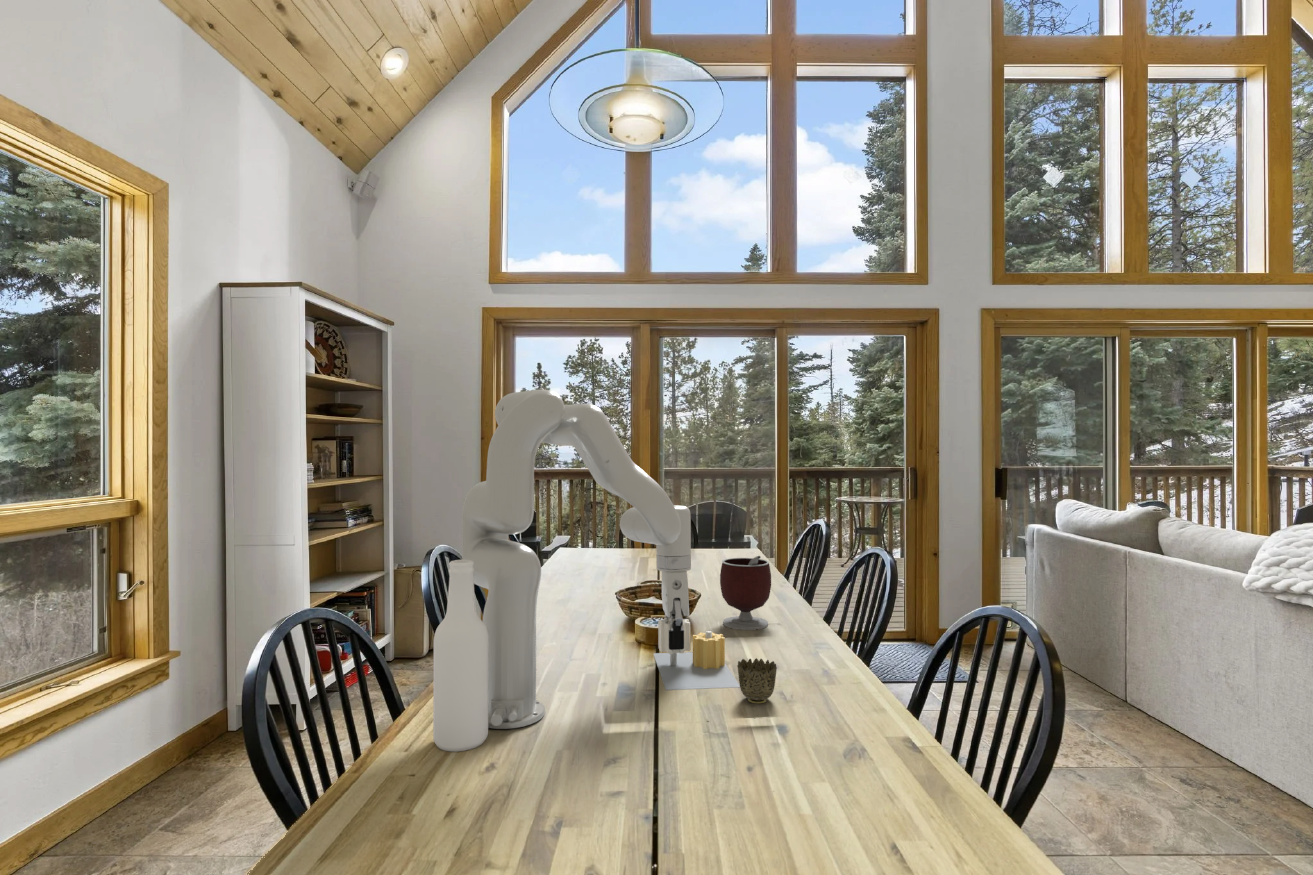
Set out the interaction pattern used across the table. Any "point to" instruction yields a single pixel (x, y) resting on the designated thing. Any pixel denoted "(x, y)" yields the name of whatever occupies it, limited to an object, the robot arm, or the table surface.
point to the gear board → (692, 672)
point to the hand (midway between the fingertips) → (674, 643)
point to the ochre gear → (708, 651)
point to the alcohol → (460, 667)
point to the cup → (757, 679)
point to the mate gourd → (745, 590)
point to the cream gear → (664, 636)
